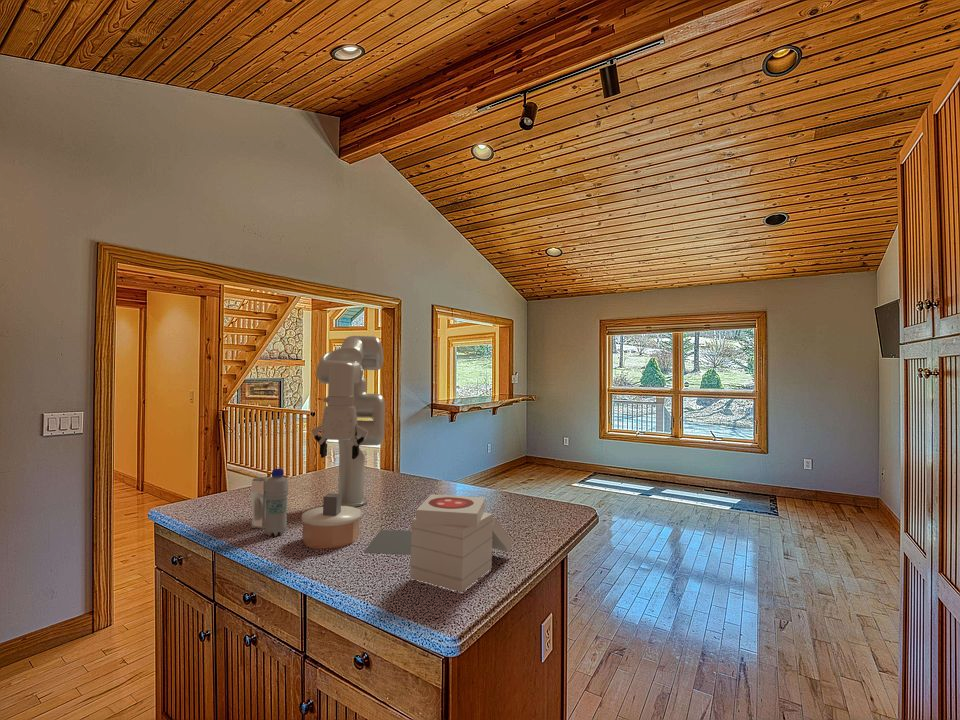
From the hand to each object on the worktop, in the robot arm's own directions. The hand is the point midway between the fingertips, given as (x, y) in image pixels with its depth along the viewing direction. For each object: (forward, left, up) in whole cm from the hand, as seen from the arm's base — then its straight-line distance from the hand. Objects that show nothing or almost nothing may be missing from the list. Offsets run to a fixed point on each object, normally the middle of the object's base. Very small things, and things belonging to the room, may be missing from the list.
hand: (339, 457), depth 145 cm
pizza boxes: (+19, +40, -24) cm, 50 cm away
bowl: (+3, 0, -24) cm, 24 cm away
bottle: (-1, -19, -24) cm, 31 cm away
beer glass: (-8, -27, -24) cm, 38 cm away
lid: (+3, -1, -17) cm, 18 cm away
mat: (+3, +22, -24) cm, 33 cm away
